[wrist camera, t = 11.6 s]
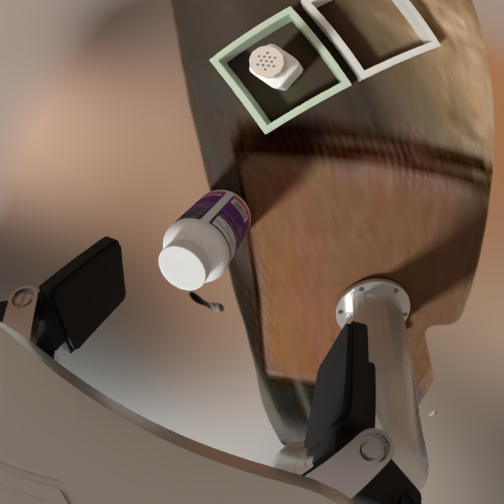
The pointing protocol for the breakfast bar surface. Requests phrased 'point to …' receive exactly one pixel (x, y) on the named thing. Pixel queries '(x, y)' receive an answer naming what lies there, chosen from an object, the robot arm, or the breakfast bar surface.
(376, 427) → the robot arm
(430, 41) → the grey bin
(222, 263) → the pill bottle
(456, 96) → the breakfast bar surface
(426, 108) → the breakfast bar surface
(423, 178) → the breakfast bar surface
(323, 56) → the green bin
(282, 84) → the pepper shaker
